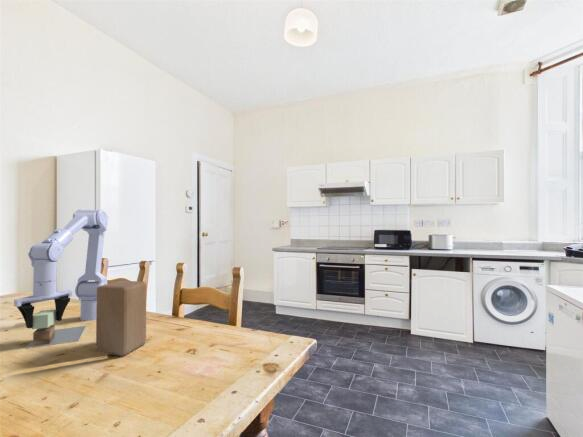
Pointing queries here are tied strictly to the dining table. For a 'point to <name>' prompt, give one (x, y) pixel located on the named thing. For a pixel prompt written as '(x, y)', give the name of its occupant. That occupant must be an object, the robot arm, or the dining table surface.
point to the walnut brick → (43, 335)
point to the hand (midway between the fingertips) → (44, 323)
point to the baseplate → (63, 336)
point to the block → (121, 317)
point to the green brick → (44, 319)
